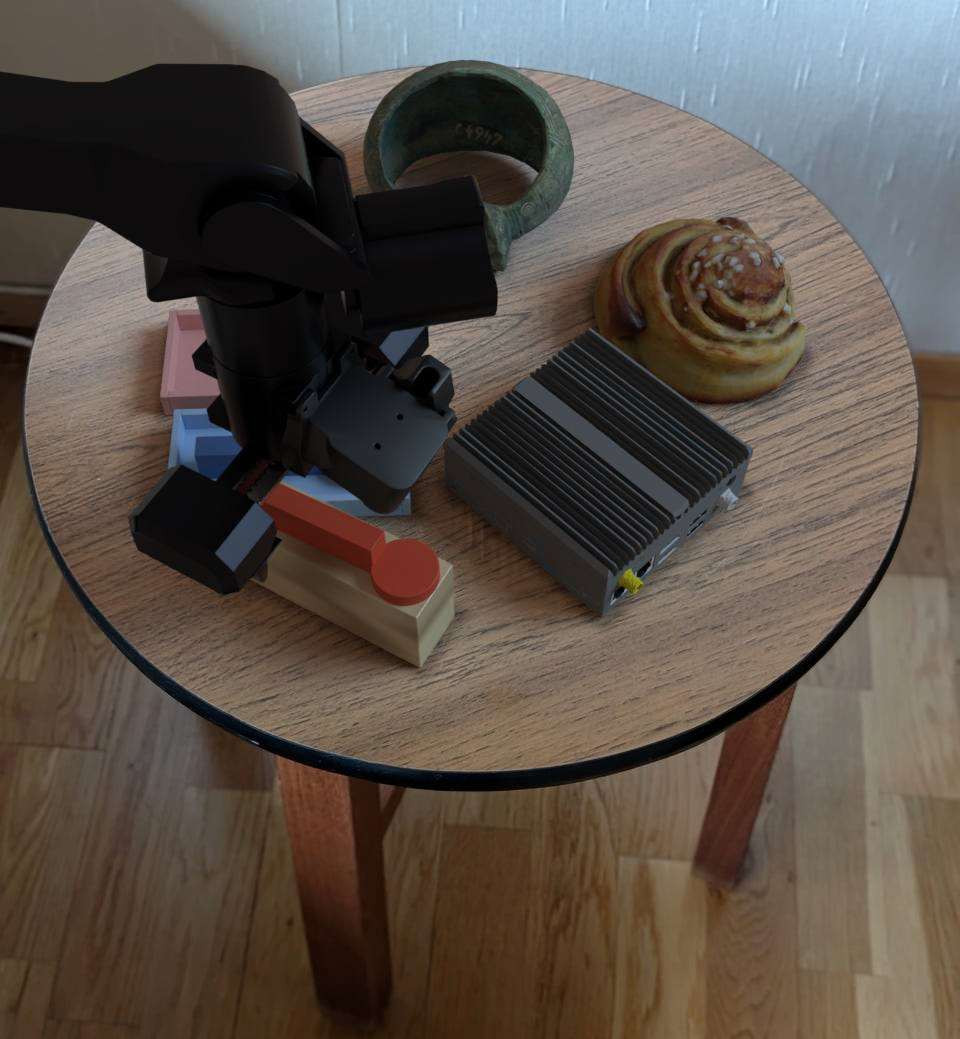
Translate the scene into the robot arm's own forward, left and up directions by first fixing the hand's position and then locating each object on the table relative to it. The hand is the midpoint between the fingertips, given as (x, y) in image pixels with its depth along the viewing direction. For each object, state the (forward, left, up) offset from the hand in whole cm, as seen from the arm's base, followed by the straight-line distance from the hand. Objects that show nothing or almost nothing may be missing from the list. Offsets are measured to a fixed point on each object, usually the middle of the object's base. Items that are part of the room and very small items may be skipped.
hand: (304, 515), depth 75 cm
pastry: (+26, +20, -8) cm, 33 cm away
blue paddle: (-2, +8, -7) cm, 11 cm away
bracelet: (+10, +31, -8) cm, 34 cm away
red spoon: (+2, -1, -1) cm, 3 cm away
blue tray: (-2, +8, -7) cm, 11 cm away
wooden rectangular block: (+2, -1, -7) cm, 8 cm away
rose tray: (-3, +17, -7) cm, 19 cm away
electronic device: (+17, +6, -8) cm, 20 cm away
